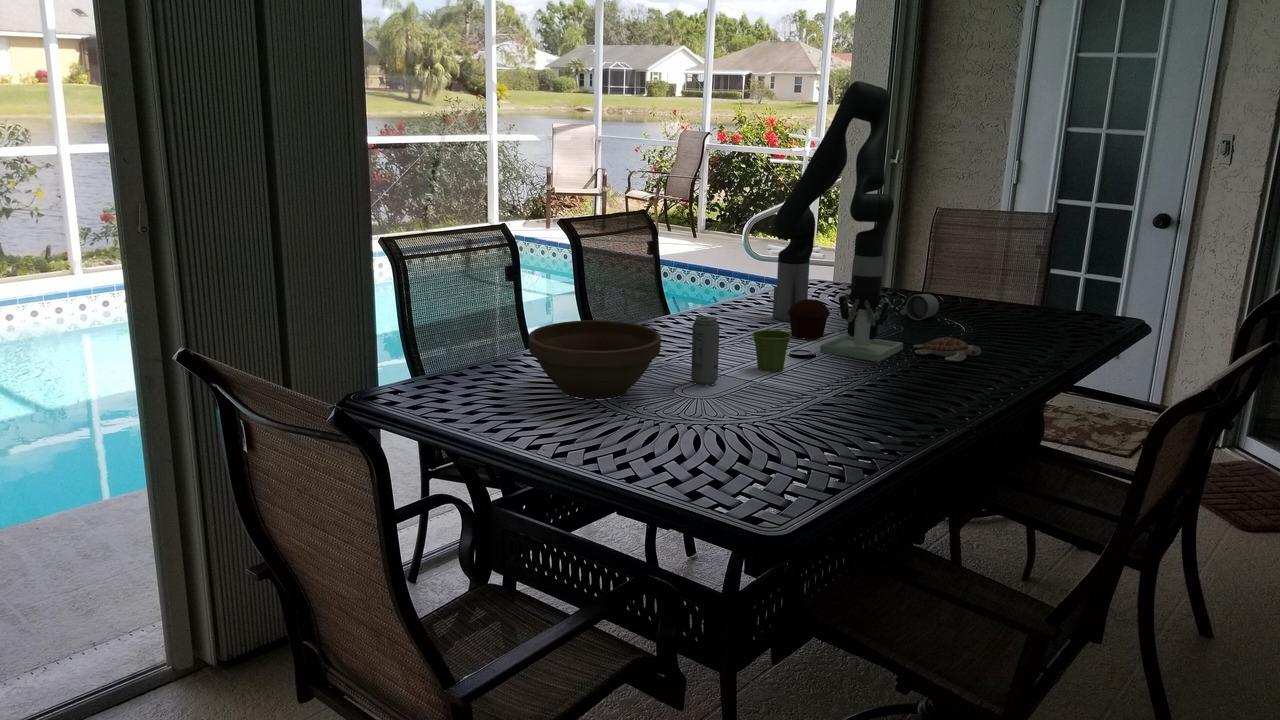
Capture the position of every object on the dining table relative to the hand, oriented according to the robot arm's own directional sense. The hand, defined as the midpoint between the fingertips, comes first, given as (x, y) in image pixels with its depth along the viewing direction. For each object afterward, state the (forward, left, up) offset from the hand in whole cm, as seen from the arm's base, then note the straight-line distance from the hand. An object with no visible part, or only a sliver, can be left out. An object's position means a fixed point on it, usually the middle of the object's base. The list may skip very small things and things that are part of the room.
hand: (862, 337), depth 243 cm
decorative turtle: (+19, +10, -4) cm, 22 cm away
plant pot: (-10, -31, -4) cm, 33 cm away
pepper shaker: (0, 0, -2) cm, 2 cm away
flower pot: (-31, -72, -4) cm, 79 cm away
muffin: (-19, +7, -4) cm, 20 cm away
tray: (0, 0, -4) cm, 4 cm away
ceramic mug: (-4, +50, -4) cm, 51 cm away
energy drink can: (-16, -51, -4) cm, 54 cm away
